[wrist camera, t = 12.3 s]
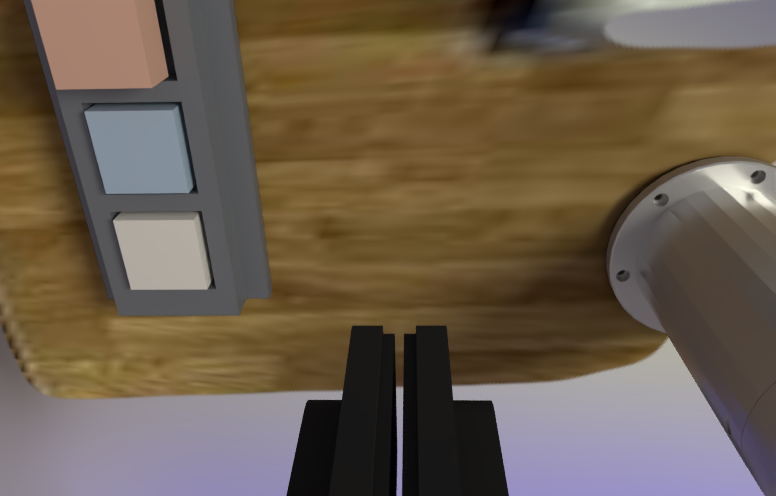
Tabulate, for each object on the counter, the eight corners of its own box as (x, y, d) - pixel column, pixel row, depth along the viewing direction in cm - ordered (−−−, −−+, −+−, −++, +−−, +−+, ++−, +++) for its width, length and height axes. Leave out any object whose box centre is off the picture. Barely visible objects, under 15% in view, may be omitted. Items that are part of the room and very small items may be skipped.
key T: (201, 176, 38) (188, 193, 35) (122, 177, 38) (105, 193, 36) (186, 98, 35) (172, 110, 33) (103, 99, 35) (84, 111, 33)
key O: (168, 76, 33) (152, 88, 30) (78, 77, 33) (56, 89, 31) (149, -24, 30) (130, -18, 28) (53, -21, 30) (26, -16, 28)
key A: (217, 269, 41) (207, 289, 39) (145, 269, 41) (131, 289, 39) (205, 202, 38) (193, 220, 36) (129, 203, 39) (112, 220, 36)
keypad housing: (272, 290, 43) (263, 315, 40) (114, 290, 43) (95, 315, 40) (201, -240, 29) (180, -255, 26) (-31, -232, 29) (-75, -246, 26)
